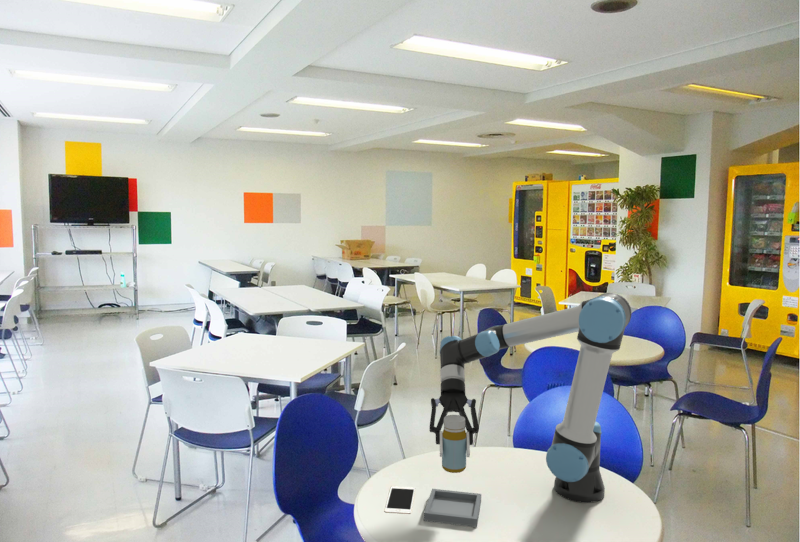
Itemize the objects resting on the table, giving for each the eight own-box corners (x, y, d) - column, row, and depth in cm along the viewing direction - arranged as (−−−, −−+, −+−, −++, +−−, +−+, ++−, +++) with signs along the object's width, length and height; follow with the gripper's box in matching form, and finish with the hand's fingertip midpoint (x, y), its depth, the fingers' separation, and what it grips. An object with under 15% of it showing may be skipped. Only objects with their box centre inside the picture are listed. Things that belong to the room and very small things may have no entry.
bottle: (467, 473, 166) (467, 422, 164) (442, 473, 166) (443, 422, 164) (464, 463, 173) (465, 414, 171) (441, 463, 173) (441, 414, 171)
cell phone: (384, 513, 169) (384, 511, 169) (391, 487, 185) (391, 486, 185) (410, 515, 169) (410, 513, 169) (415, 489, 185) (415, 487, 184)
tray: (481, 501, 176) (481, 493, 176) (476, 527, 161) (477, 519, 161) (432, 496, 179) (432, 488, 179) (423, 520, 165) (423, 512, 164)
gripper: (484, 389, 182) (488, 460, 168) (420, 388, 183) (419, 459, 169) (486, 377, 176) (491, 450, 162) (420, 376, 177) (419, 449, 163)
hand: (454, 455), depth 165 cm, fingers closed on bottle, 7 cm apart
